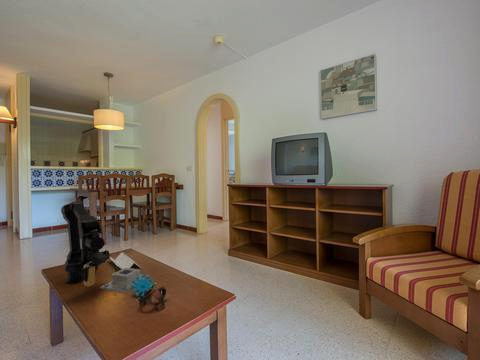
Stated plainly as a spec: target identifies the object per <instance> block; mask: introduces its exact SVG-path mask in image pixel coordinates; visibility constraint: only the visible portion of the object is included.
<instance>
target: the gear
mask: <svg viewBox="0 0 480 360" xmlns="http://www.w3.org/2000/svg"><path fill="white" fill-rule="evenodd" d="M145 275H147V277H146V278H145V279H143V278H144V276H145ZM136 279H137V281H138V282H137V283H136V282H135V279H134V280H133V281H132V283H134V284H135V285H136V286H134V285H133V284H132V285H131V288H132V289H131V293H132V294H134V293H135V296H136V297H139V295H140V297H141V296H142V295H143V297H144V296H145V295H144V293H145V292H147V291H148V290H150V289H151V288H155V286H157V281H155V282H154V279H153V278H150V275H149V276H148V274H143V275H142V276H141V280H139V276H137V277H136ZM150 282H151V283H150Z"/></svg>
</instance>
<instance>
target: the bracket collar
mask: <svg viewBox="0 0 480 360" xmlns="http://www.w3.org/2000/svg"><path fill="white" fill-rule="evenodd" d="M142 275H145V276H144V278H143V279H145V278H146V277H147V275H148V274H142V273H140V269H137V268H132V267H131V268H124V269H120V270H118V271H115V272H114V273H112V274H111V281H109V282H107V283H105V284H103V285H101V286H100V287H99V289H100V290H104V291H108V292H109V291H110V292H115V293H116V292H117V293H122V294H123V293H124V294H125V293H127V292H128V291H130V290H133V288H131V285H132V284H133V285H134V286H136V285H135V284H134V283H132V281H133V280H134V279H135V282H136V283H137V282H138V281H137V279H136V277H137V276H139V280H141V276H142ZM148 276H149V277H150V274H149V275H148Z"/></svg>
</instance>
